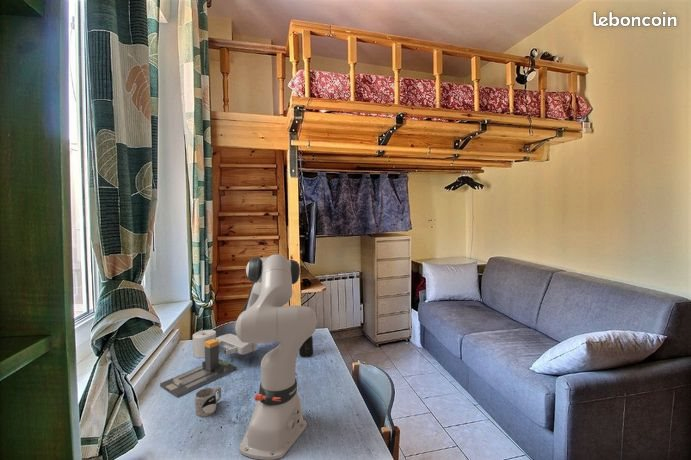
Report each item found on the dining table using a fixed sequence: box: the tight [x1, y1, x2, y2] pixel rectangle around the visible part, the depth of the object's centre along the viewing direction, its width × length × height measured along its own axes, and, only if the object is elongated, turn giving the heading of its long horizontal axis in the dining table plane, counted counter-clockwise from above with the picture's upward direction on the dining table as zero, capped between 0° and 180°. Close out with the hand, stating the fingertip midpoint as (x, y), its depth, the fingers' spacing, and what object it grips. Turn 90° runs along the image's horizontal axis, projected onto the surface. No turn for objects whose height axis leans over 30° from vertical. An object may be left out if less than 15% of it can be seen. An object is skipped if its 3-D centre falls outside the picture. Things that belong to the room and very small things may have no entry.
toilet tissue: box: [192, 329, 217, 359], centre depth 156 cm, size 11×12×10 cm
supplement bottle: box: [298, 335, 314, 358], centre depth 153 cm, size 7×7×12 cm
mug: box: [194, 386, 222, 418], centre depth 112 cm, size 10×7×7 cm
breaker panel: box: [159, 358, 237, 398], centre depth 133 cm, size 26×14×3 cm, turn 145°
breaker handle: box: [204, 339, 220, 371], centre depth 137 cm, size 4×4×12 cm
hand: (219, 349), depth 140 cm, fingers open, 8 cm apart
